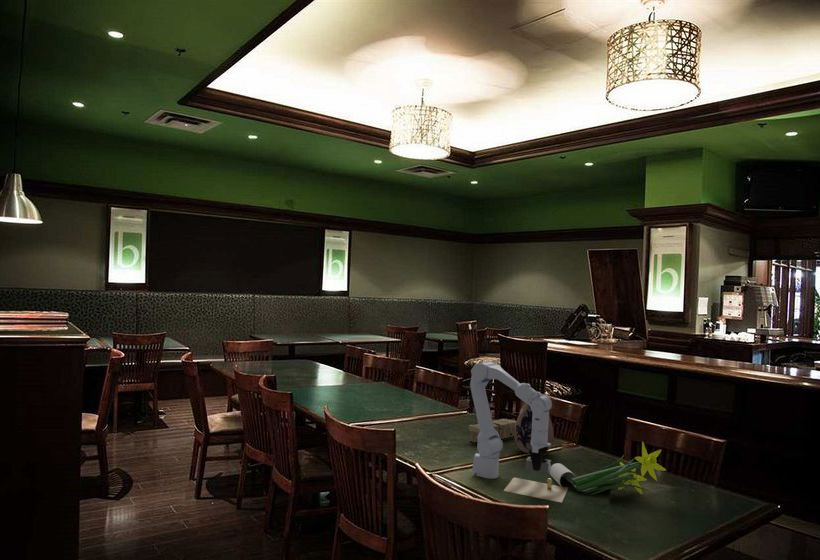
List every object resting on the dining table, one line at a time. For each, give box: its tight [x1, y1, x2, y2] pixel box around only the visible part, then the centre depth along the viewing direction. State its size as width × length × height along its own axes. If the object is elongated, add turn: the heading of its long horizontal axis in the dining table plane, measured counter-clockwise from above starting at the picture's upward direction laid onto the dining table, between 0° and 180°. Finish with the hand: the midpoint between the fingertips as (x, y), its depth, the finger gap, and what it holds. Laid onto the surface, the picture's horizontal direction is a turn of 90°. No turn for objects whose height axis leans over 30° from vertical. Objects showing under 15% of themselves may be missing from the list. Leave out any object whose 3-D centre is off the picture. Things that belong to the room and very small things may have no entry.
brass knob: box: [546, 477, 553, 490], centre depth 199 cm, size 2×2×4 cm
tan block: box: [468, 418, 517, 444], centre depth 268 cm, size 8×8×29 cm
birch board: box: [503, 477, 569, 503], centre depth 198 cm, size 20×16×2 cm
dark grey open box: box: [525, 456, 552, 475], centre depth 198 cm, size 8×5×4 cm, turn 66°
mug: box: [549, 462, 577, 488], centre depth 209 cm, size 10×7×12 cm
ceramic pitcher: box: [513, 400, 555, 455], centre depth 251 cm, size 18×21×25 cm
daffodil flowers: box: [571, 441, 667, 495], centre depth 202 cm, size 17×15×35 cm
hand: (537, 468), depth 198 cm, fingers closed on dark grey open box, 5 cm apart
